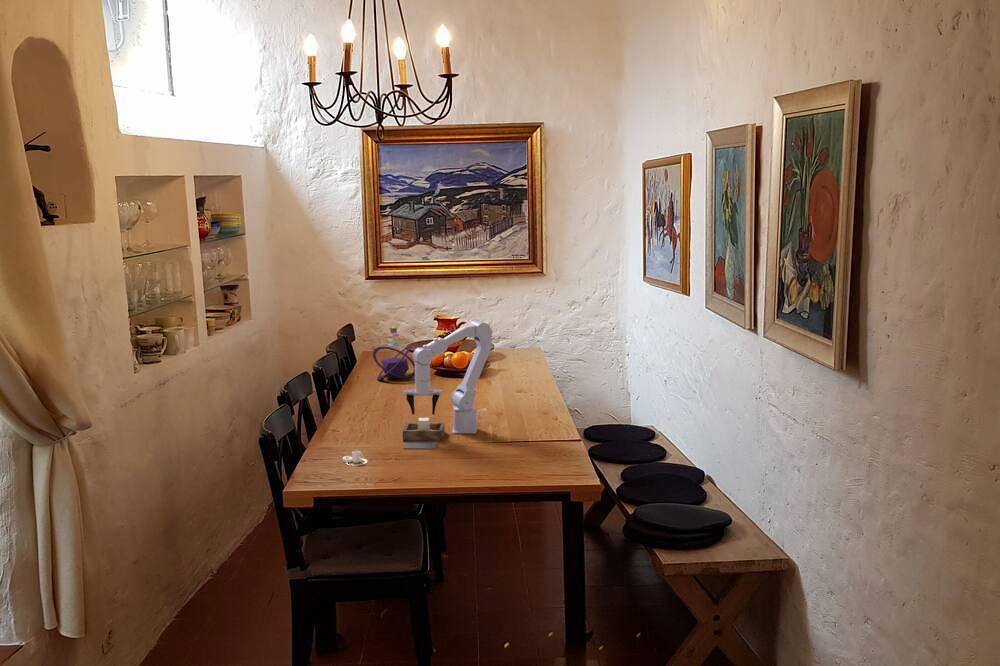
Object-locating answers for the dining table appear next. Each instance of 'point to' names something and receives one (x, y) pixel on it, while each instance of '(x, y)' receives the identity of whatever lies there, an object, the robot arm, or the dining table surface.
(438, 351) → the robot arm
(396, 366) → the decorative bottle
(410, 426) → the walnut box
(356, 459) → the teacup and saucer
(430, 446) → the charcoal mat
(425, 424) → the cream block
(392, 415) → the dining table surface
